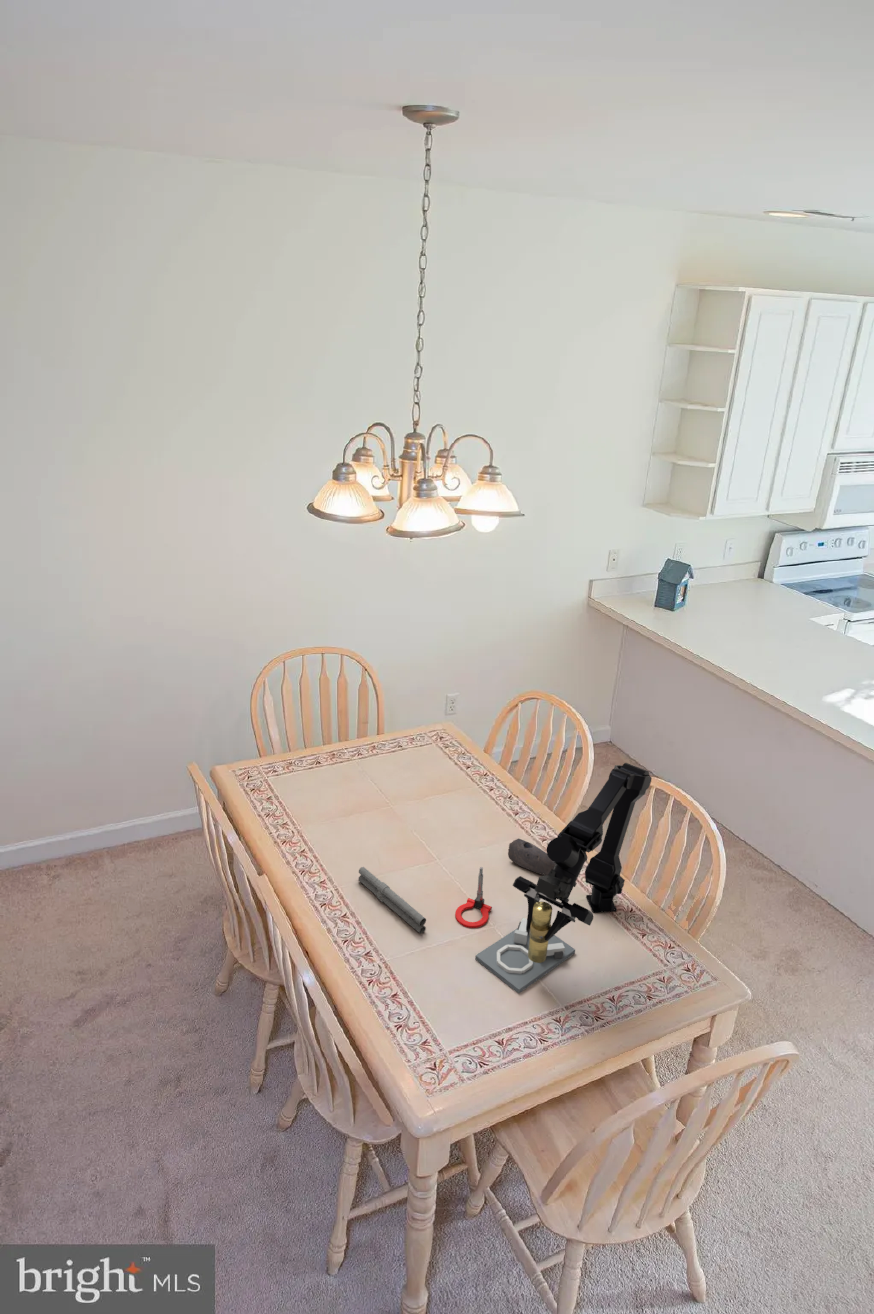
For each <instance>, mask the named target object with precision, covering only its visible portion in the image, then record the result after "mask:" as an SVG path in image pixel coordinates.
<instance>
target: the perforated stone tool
mask: <svg viewBox="0 0 874 1314" xmlns="http://www.w3.org/2000/svg"><path fill="white" fill-rule="evenodd" d="M507 856H508V859H509V860H511V862H513V863H514V864H516V865H518V866H520V867H521V868H523V869H526V870H528V871H531V872H534V873H536V874H540V875H542V876H545V875H548V874H549V872H550V871H551V869H554V867H555V865H556V863H554V862H553V861H552V860H551V859H550V858H549V857H548V855H547V852H545V851H544V850H543V849H541V848H539V847H538V846H537V845H534V844H533V843H531V842H528V841H526V840H524V839H521V838H516V839H514V840H513V841H511V842H510V843H509V845H508V852H507Z"/></svg>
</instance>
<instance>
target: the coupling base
mask: <svg viewBox="0 0 874 1314" xmlns="http://www.w3.org/2000/svg"><path fill="white" fill-rule="evenodd" d="M526 925H527V918H526V917H525V918H524V917H522V919H521V921H519V923H518V925H517V928H516V929H513V930H512V931H511V932H509V933H508V934H506V935H504V936H503V937H502V938H500V939H498V940H497V941H496V942H493V943H492V944H490V945H489V946H487V947H486V948H485V949H483V950H481V951H480V952H478V953H477V954H475V960H476V961H477V962H478V963H479V964H481V966H483V967H484V968H486V970H488V971H489V972H490V973H492V974H493V975H494V976H495V977H497V978H498V979H499V980H501V981H502V982H503V983H504V984H506V985H507V986H508V987H509V988H510V989H512V990H513V991H514V992H516V993H517V994H520V993H522V992H523V991H524V990H526V989H528V987H529V988H530V986H531V985H533V984H535V982H536V983H537V981H538V980H540V979H541V978H543V976H545V975H546V974H548V973H550V972H551V971H552V970H553V969H555V968H557V967H558V966H559V965H561V964H562V963H563V962H565V961H566V960H567V959H569V958H570V957H572V956H573V955H574V954H576V949H575V948H574V947H573V946H571V945H570V944H568V943H567V942H565V941H564V940H562V939H561V938H560V937H558V936H557V935H556V934H555V935H554V936H553V937H552V938H550V939H549V940H548V948H547V955H546V960H545V961H544V962H541V963H535V962H533V961H531V960H530V959H529V958H528V950H529V941H530V936H529V933H530V931H527V930H526Z"/></svg>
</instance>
